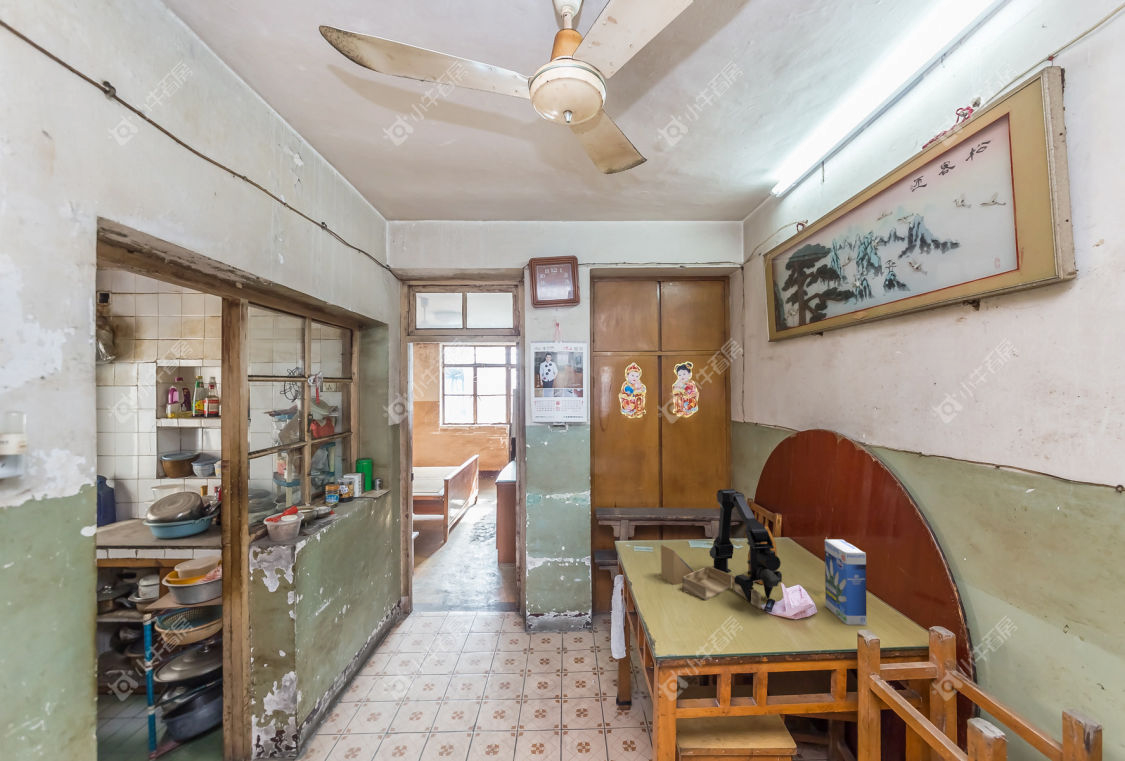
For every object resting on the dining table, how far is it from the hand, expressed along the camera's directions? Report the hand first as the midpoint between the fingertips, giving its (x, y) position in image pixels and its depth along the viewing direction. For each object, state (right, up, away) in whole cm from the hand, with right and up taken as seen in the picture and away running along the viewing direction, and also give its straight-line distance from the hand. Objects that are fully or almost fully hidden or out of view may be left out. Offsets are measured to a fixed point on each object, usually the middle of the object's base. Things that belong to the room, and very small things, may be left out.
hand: (758, 600), depth 165 cm
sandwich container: (-24, -3, +24) cm, 34 cm away
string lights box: (+28, -2, -8) cm, 30 cm away
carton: (-15, -2, +13) cm, 20 cm away
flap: (-3, -2, +4) cm, 6 cm away
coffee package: (+12, -2, +21) cm, 25 cm away
